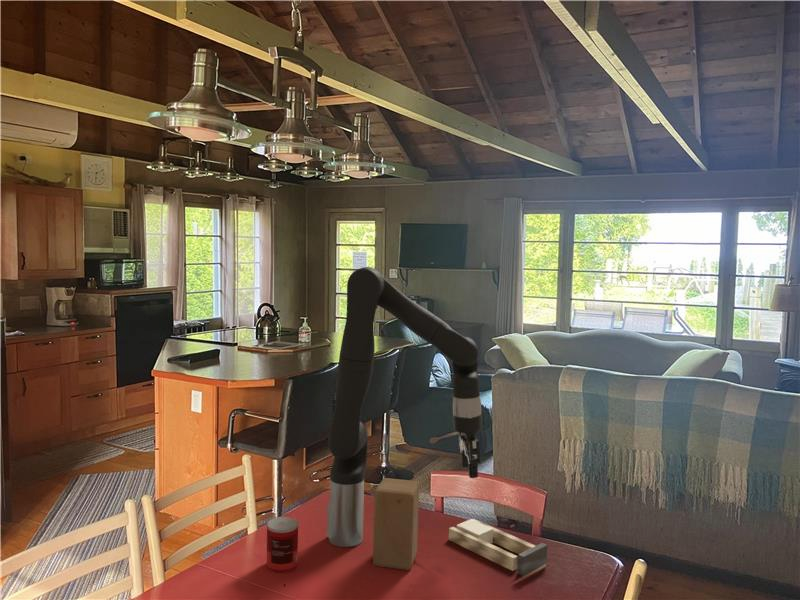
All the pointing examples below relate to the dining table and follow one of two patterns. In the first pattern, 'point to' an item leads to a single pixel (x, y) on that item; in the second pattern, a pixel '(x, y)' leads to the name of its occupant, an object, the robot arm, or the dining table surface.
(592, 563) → the dining table surface
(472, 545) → the birch chute
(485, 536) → the off-white block
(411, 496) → the wooden block
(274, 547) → the canned food
